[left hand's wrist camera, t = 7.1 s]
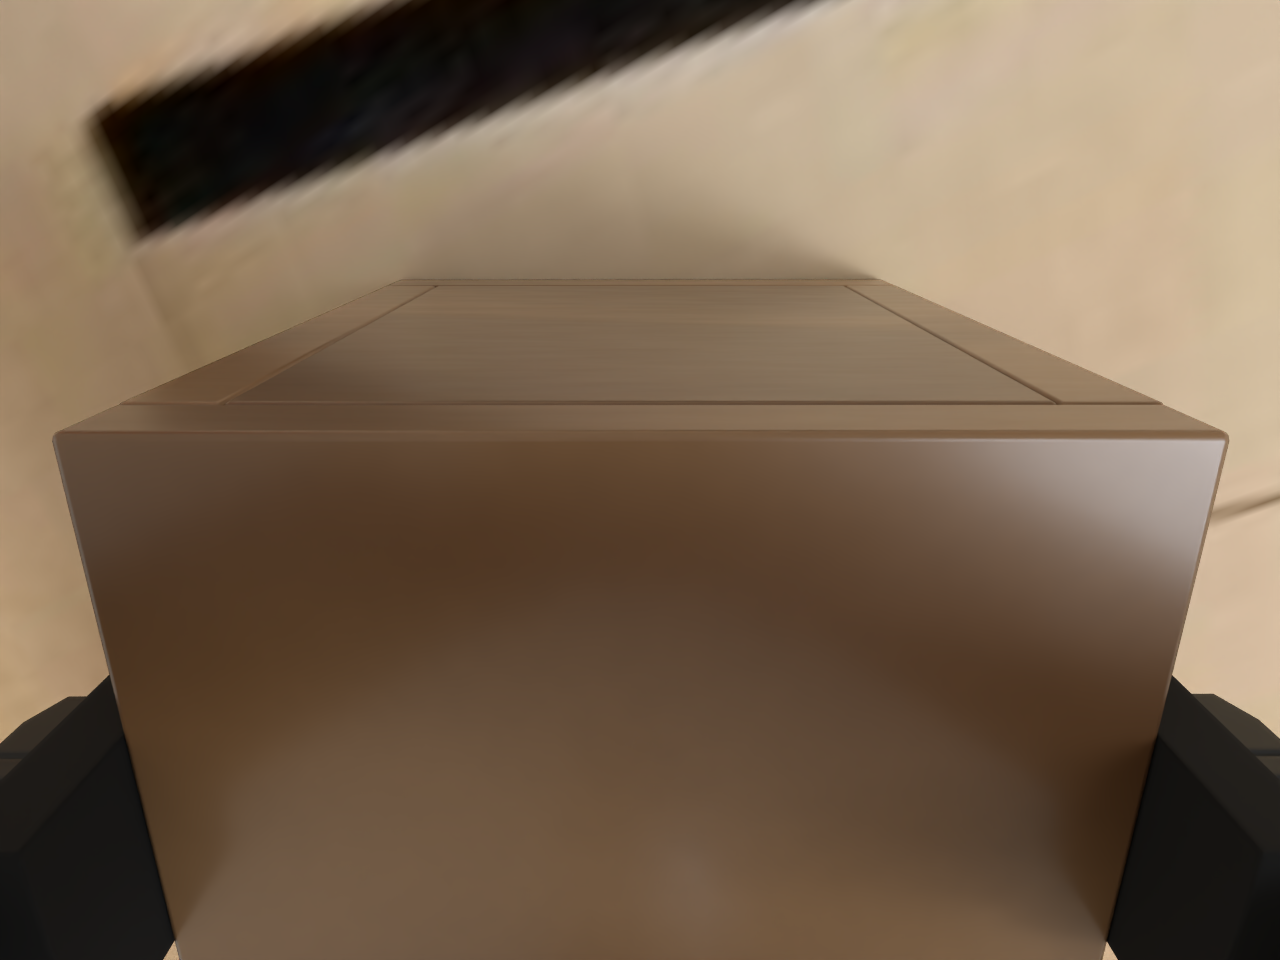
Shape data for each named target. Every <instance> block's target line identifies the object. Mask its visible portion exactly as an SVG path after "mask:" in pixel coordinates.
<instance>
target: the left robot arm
mask: <svg viewBox="0 0 1280 960" xmlns="http://www.w3.org/2000/svg"><path fill="white" fill-rule="evenodd" d="M174 941H175V939H174V935H173V931H172V927H171V923H170V919H169V914H168V910H167V906H166V902H165V898H164V894H163V890H162V886H161V882H160V878H159V874H158V870H157V866H156V861H155V857H154V853H153V849H152V845H151V841H150V837H149V833H148V829H147V825H146V821H145V817H144V813H143V809H142V804H141V800H140V796H139V792H138V788H137V784H136V780H135V776H134V772H133V768H132V764H131V760H130V756H129V751H128V747H127V743H126V739H125V735H124V731H123V727H122V723H121V719H120V715H119V711H118V707H117V703H116V698H115V694H114V690H113V686H112V682H111V678H110V675H109V676H108V677H107V678H106V679H105V680H103V681H102V682H101V683H100V684H99V685H98V686H97V687H96V688H95V689H94V690H93V691H92V692H91V693H90V694H89V695H88V696H87V697H67V698H65V699H64V700H62V701H60V702H58V703H57V704H55V705H53V706H51V707H50V708H48V709H46V710H44V711H43V712H41V713H39V714H37V715H36V716H34V717H32V718H30V719H29V720H27V721H25V722H23V723H22V724H21V725H20V726H19V727H18V728H17V729H16V730H15V731H14V732H12V733H11V734H10V735H9V736H8V737H7V738H6V739H5V740H4V741H3V742H1V743H0V960H163V959H164V957H165V956H166V954H167V952H168V951H169V949H170V947H171V946H172V944H173V942H174ZM1107 942H1108V944H1109V946H1110V947H1111V949H1112V951H1113V952H1114V954H1115V956H1116V957H1117V959H1118V960H1280V739H1279V738H1278V737H1277V736H1276V735H1275V734H1274V733H1273V732H1272V731H1271V730H1270V729H1268V728H1267V727H1266V726H1265V725H1264V724H1263V723H1262V722H1261V721H1260V720H1258V719H1257V718H1255V717H1253V716H1251V715H1250V714H1248V713H1246V712H1244V711H1243V710H1241V709H1239V708H1237V707H1235V706H1234V705H1232V704H1230V703H1228V702H1227V701H1225V700H1223V699H1221V698H1220V697H1218V696H1216V695H1214V694H1191V693H1190V692H1189V691H1188V690H1187V689H1186V688H1185V687H1184V686H1183V685H1182V684H1181V683H1180V682H1179V681H1178V680H1177V679H1176V678H1174V677H1173V676H1172V677H1171V681H1170V685H1169V689H1168V693H1167V697H1166V701H1165V705H1164V709H1163V713H1162V718H1161V722H1160V726H1159V730H1158V734H1157V738H1156V742H1155V746H1154V750H1153V754H1152V758H1151V763H1150V767H1149V771H1148V775H1147V779H1146V783H1145V787H1144V791H1143V795H1142V799H1141V803H1140V807H1139V812H1138V816H1137V820H1136V824H1135V828H1134V832H1133V836H1132V840H1131V844H1130V848H1129V852H1128V857H1127V861H1126V865H1125V869H1124V873H1123V877H1122V881H1121V885H1120V889H1119V893H1118V897H1117V901H1116V906H1115V910H1114V914H1113V918H1112V922H1111V926H1110V930H1109V934H1108V938H1107Z"/></svg>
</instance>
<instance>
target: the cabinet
mask: <svg viewBox="0 0 1280 960" xmlns="http://www.w3.org/2000/svg"><path fill="white" fill-rule="evenodd" d="M52 442H53V446H54V450H55V454H56V458H57V462H58V466H59V470H60V474H61V478H62V483H63V487H64V491H65V495H66V499H67V503H68V507H69V511H70V515H71V519H72V523H73V527H74V531H75V535H76V540H77V544H78V548H79V552H80V556H81V560H82V564H83V568H84V572H85V576H86V580H87V584H88V588H89V593H90V597H91V601H92V605H93V609H94V613H95V617H96V621H97V625H98V629H99V633H100V637H101V641H102V646H103V650H104V654H105V658H106V662H107V666H108V670H109V674H110V678H111V682H112V686H113V690H114V694H115V698H116V703H117V707H118V711H119V715H120V719H121V723H122V727H123V731H124V735H125V739H126V743H127V747H128V751H129V756H130V760H131V764H132V768H133V772H134V776H135V780H136V784H137V788H138V792H139V796H140V800H141V804H142V809H143V813H144V817H145V821H146V825H147V829H148V833H149V837H150V841H151V845H152V849H153V853H154V857H155V861H156V866H157V870H158V874H159V878H160V882H161V886H162V890H163V894H164V898H165V902H166V906H167V910H168V914H169V919H170V923H171V927H172V931H173V935H174V939H175V943H176V947H177V951H178V955H179V959H180V960H1102V959H1103V955H1104V951H1105V946H1106V942H1107V938H1108V934H1109V930H1110V926H1111V922H1112V918H1113V914H1114V910H1115V906H1116V901H1117V897H1118V893H1119V889H1120V885H1121V881H1122V877H1123V873H1124V869H1125V865H1126V861H1127V857H1128V852H1129V848H1130V844H1131V840H1132V836H1133V832H1134V828H1135V824H1136V820H1137V816H1138V812H1139V807H1140V803H1141V799H1142V795H1143V791H1144V787H1145V783H1146V779H1147V775H1148V771H1149V767H1150V763H1151V758H1152V754H1153V750H1154V746H1155V742H1156V738H1157V734H1158V730H1159V726H1160V722H1161V718H1162V713H1163V709H1164V705H1165V701H1166V697H1167V693H1168V689H1169V685H1170V681H1171V677H1172V673H1173V669H1174V664H1175V660H1176V656H1177V652H1178V648H1179V644H1180V640H1181V636H1182V632H1183V628H1184V624H1185V620H1186V615H1187V611H1188V607H1189V603H1190V599H1191V595H1192V591H1193V587H1194V583H1195V579H1196V575H1197V570H1198V566H1199V562H1200V558H1201V554H1202V550H1203V546H1204V542H1205V538H1206V534H1207V530H1208V526H1209V521H1210V517H1211V513H1212V509H1213V505H1214V501H1215V497H1216V493H1217V489H1218V485H1219V481H1220V476H1221V472H1222V468H1223V464H1224V460H1225V456H1226V452H1227V448H1228V444H1229V436H1228V434H1227V433H1226V432H1224V431H1222V430H1219V429H1217V428H1215V427H1212V426H1210V425H1208V424H1206V423H1203V422H1201V421H1199V420H1197V419H1194V418H1192V417H1190V416H1188V415H1185V414H1183V413H1181V412H1179V411H1176V410H1174V409H1172V408H1169V407H1167V406H1165V405H1163V404H1162V403H1161V402H1159V401H1157V400H1154V399H1152V398H1150V397H1148V396H1145V395H1143V394H1141V393H1139V392H1136V391H1134V390H1132V389H1129V388H1127V387H1125V386H1123V385H1120V384H1118V383H1116V382H1113V381H1111V380H1109V379H1107V378H1104V377H1102V376H1100V375H1097V374H1095V373H1093V372H1091V371H1088V370H1086V369H1084V368H1082V367H1079V366H1077V365H1075V364H1072V363H1070V362H1068V361H1066V360H1063V359H1061V358H1059V357H1056V356H1054V355H1052V354H1050V353H1047V352H1045V351H1043V350H1041V349H1038V348H1036V347H1034V346H1031V345H1029V344H1027V343H1025V342H1022V341H1020V340H1018V339H1015V338H1013V337H1011V336H1009V335H1006V334H1004V333H1002V332H999V331H997V330H995V329H993V328H990V327H988V326H986V325H984V324H981V323H979V322H977V321H974V320H972V319H970V318H968V317H965V316H963V315H961V314H958V313H956V312H954V311H952V310H949V309H947V308H945V307H942V306H940V305H938V304H936V303H933V302H931V301H929V300H927V299H924V298H922V297H920V296H917V295H915V294H913V293H911V292H908V291H906V290H904V289H901V288H899V287H897V286H895V285H892V284H889V283H887V282H885V281H883V280H399V281H397V282H395V283H393V284H390V285H388V286H386V287H383V288H381V289H379V290H377V291H374V292H372V293H370V294H368V295H365V296H363V297H361V298H358V299H356V300H354V301H352V302H349V303H347V304H345V305H343V306H340V307H338V308H336V309H333V310H331V311H329V312H327V313H324V314H322V315H320V316H318V317H315V318H313V319H311V320H308V321H306V322H304V323H302V324H299V325H297V326H295V327H293V328H290V329H288V330H286V331H283V332H281V333H279V334H277V335H274V336H272V337H270V338H268V339H265V340H263V341H261V342H258V343H256V344H254V345H252V346H249V347H247V348H245V349H243V350H240V351H238V352H236V353H233V354H231V355H229V356H227V357H224V358H222V359H220V360H218V361H215V362H213V363H211V364H208V365H206V366H204V367H202V368H199V369H197V370H195V371H193V372H190V373H188V374H186V375H183V376H181V377H179V378H177V379H174V380H172V381H170V382H168V383H165V384H163V385H161V386H158V387H156V388H154V389H152V390H149V391H147V392H145V393H143V394H140V395H138V396H136V397H133V398H131V399H129V400H127V401H124V402H122V403H120V405H117V406H115V407H113V408H111V409H108V410H106V411H104V412H102V413H99V414H97V415H95V416H93V417H90V418H88V419H86V420H83V421H81V422H79V423H77V424H74V425H72V426H70V427H68V428H65V429H63V430H61V431H59V432H56V433H55V434H54V435H53V441H52Z"/></svg>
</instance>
